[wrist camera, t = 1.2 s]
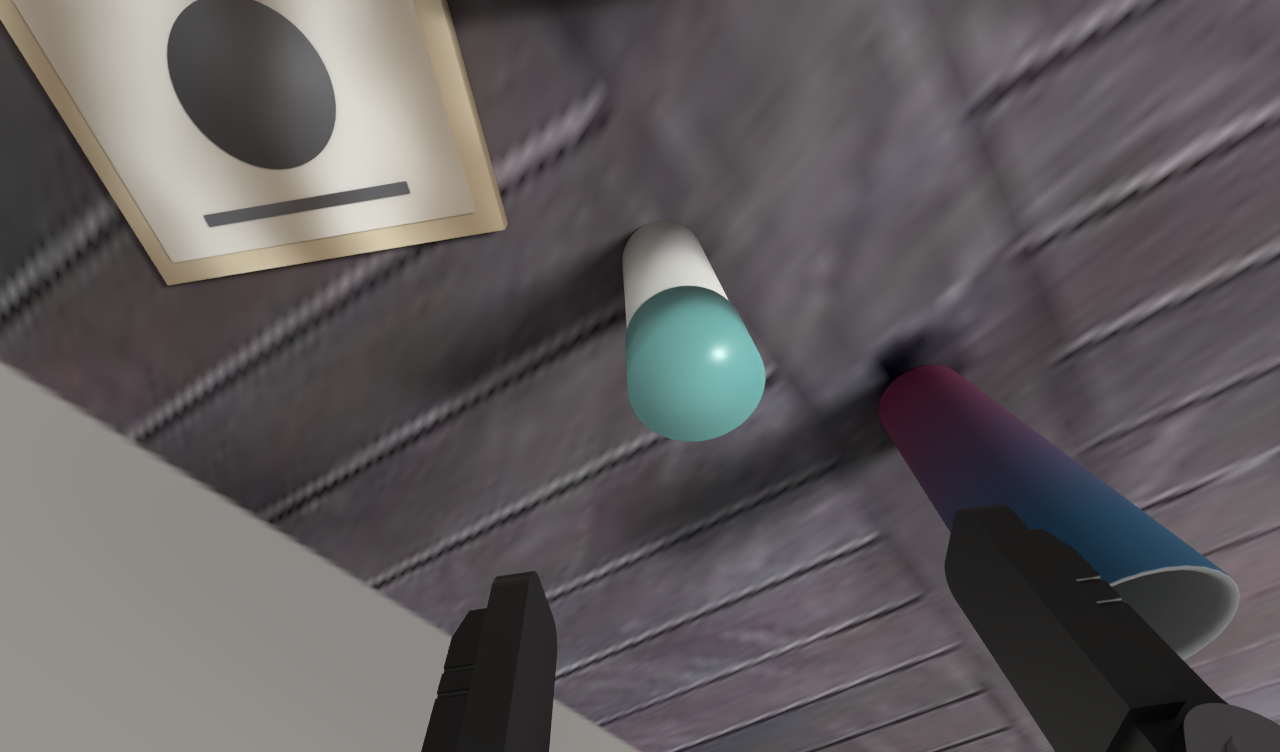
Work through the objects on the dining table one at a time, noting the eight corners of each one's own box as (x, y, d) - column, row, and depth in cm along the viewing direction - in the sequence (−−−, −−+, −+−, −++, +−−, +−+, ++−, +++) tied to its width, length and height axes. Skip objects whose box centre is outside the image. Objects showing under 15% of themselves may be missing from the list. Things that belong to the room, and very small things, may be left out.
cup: (838, 414, 32) (995, 653, 19) (928, 328, 29) (1180, 537, 17) (913, 463, 34) (1097, 706, 21) (1002, 387, 32) (1275, 612, 19)
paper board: (396, -183, 18) (383, -199, 17) (507, 224, 25) (503, 231, 24) (-47, -98, 19) (-89, -108, 18) (182, 278, 26) (163, 287, 25)
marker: (700, 211, 26) (763, 312, 15) (707, 293, 28) (767, 430, 17) (613, 225, 26) (616, 335, 15) (627, 306, 28) (638, 450, 18)
